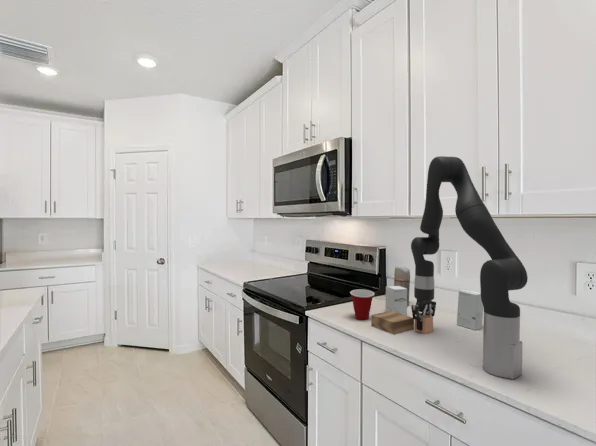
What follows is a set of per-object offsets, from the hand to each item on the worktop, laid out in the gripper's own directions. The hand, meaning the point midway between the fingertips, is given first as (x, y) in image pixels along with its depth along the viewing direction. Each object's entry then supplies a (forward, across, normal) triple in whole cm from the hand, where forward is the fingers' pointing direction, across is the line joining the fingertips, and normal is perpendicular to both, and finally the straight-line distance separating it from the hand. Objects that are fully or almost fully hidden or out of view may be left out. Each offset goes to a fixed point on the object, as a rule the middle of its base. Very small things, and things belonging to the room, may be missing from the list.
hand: (423, 328), depth 134 cm
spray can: (+1, +27, +31) cm, 41 cm away
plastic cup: (+1, -8, +26) cm, 27 cm away
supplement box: (+1, +11, +22) cm, 25 cm away
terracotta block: (+1, 0, 0) cm, 1 cm away
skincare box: (+1, +21, -8) cm, 23 cm away
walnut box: (+1, -7, +10) cm, 12 cm away
